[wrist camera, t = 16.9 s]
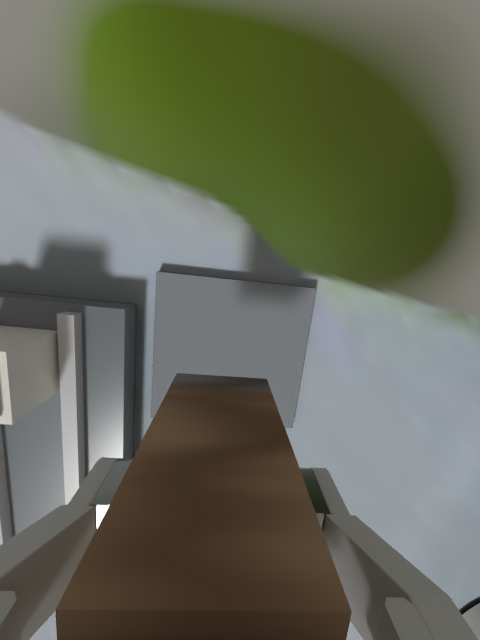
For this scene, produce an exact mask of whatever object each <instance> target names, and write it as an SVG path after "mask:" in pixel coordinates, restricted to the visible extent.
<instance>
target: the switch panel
mask: <svg viewBox="0 0 480 640" xmlns="http://www.w3.org/2000/svg"><path fill="white" fill-rule="evenodd" d="M0 325H2V326H13V327H23V328H34V329H45V330H56V331H57V332H58V354H59V376H60V390H59V391H58V392H57V393H55V394H54V395H53V396H51V397H50V398H48V399H47V400H46V401H44V402H43V403H42V404H40V405H39V406H38V407H36V408H35V409H33V410H32V411H31V412H29V413H28V414H27V415H25V416H24V417H23V418H21V419H20V420H18V421H17V422H16V423H14V424H13V425H8V424H0V545H2V544H3V543H5V542H6V541H8V540H9V539H11V538H12V537H14V536H15V535H17V534H18V533H20V532H21V531H23V530H24V529H26V528H27V527H29V526H30V525H32V524H33V523H35V522H36V521H38V520H39V519H41V518H42V517H44V516H45V515H47V514H48V513H50V512H52V511H53V510H55V509H56V508H58V507H59V506H61V505H68V503H69V502H70V500H71V499H72V497H73V496H74V495H75V493H76V492H77V490H78V489H79V487H80V486H81V484H82V483H83V481H84V480H85V478H86V477H87V475H88V474H89V472H90V471H91V469H92V468H93V466H94V465H95V463H96V462H97V461H98V460H99V459H100V458H101V457H108V458H126V459H133V430H134V385H135V339H136V305H135V304H125V303H115V302H105V301H95V300H85V299H74V298H64V297H54V296H44V295H34V294H24V293H14V292H4V291H0Z"/></svg>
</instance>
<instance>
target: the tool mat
mask: <svg viewBox="0 0 480 640" xmlns="http://www.w3.org/2000/svg"><path fill="white" fill-rule="evenodd" d="M315 292H316V289H315V288H309V287H300V286H291V285H281V284H272V283H263V282H253V281H244V280H234V279H225V278H216V277H206V276H197V275H188V274H178V273H169V272H159V271H158V272H156V297H155V323H154V350H153V376H152V403H151V417H152V418H154V417H155V415H156V413H157V411H158V409H159V407H160V405H161V403H162V401H163V399H164V397H165V395H166V393H167V391H168V389H169V387H170V385H171V383H172V381H173V379H174V378H175V376H176V374H177V373H184V374H200V375H216V376H231V377H247V378H263V379H267V381H268V383H269V386H270V389H271V392H272V394H273V397H274V400H275V403H276V405H277V408H278V411H279V414H280V416H281V419H282V422H283V425H284V427H285V428H293V422H294V416H295V410H296V404H297V398H298V393H299V387H300V381H301V375H302V369H303V363H304V357H305V351H306V345H307V340H308V334H309V328H310V322H311V316H312V310H313V304H314V298H315Z"/></svg>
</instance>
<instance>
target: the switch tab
mask: <svg viewBox="0 0 480 640" xmlns="http://www.w3.org/2000/svg"><path fill="white" fill-rule="evenodd" d="M59 390H60V376H59V354H58V332H57V331H56V330H45V329H34V328H23V327H13V326H2V325H0V424H8V425H13V424H14V423H16V422H17V421H18V420H20V419H21V418H23V417H24V416H25V415H27V414H28V413H29V412H31V411H32V410H33V409H35V408H36V407H38V406H39V405H40V404H42V403H43V402H44V401H46V400H47V399H48V398H50V397H51V396H53V395H54V394H55V393H57V392H58V391H59Z"/></svg>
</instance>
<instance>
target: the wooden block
mask: <svg viewBox="0 0 480 640" xmlns="http://www.w3.org/2000/svg"><path fill="white" fill-rule="evenodd" d="M351 613H352V611H351V608H350V606H349V603H348V600H347V597H346V595H345V592H344V589H343V586H342V584H341V581H340V578H339V575H338V573H337V570H336V567H335V565H334V562H333V559H332V556H331V554H330V551H329V548H328V545H327V543H326V540H325V537H324V534H323V532H322V529H321V526H320V523H319V521H318V518H317V515H316V512H315V510H314V507H313V504H312V501H311V499H310V496H309V493H308V490H307V488H306V485H305V482H304V479H303V477H302V474H301V471H300V468H299V466H298V463H297V460H296V458H295V455H294V452H293V449H292V447H291V444H290V441H289V438H288V436H287V433H286V430H285V427H284V425H283V422H282V419H281V416H280V414H279V411H278V408H277V405H276V403H275V400H274V397H273V394H272V392H271V389H270V386H269V383H268V381H267V379H263V378H247V377H231V376H216V375H200V374H184V373H177V374H176V376H175V378H174V379H173V381H172V383H171V385H170V387H169V389H168V391H167V393H166V395H165V397H164V399H163V401H162V403H161V405H160V407H159V409H158V411H157V413H156V415H155V417H154V418H153V420H152V422H151V424H150V426H149V428H148V430H147V432H146V434H145V436H144V438H143V440H142V442H141V444H140V446H139V448H138V450H137V452H136V454H135V456H134V458H133V459H132V461H131V463H130V465H129V467H128V469H127V471H126V473H125V475H124V477H123V479H122V481H121V483H120V485H119V487H118V489H117V491H116V493H115V495H114V497H113V499H112V500H111V502H110V504H109V506H108V508H107V510H106V512H105V514H104V516H103V518H102V520H101V522H100V524H99V526H98V528H97V530H96V532H95V534H94V536H93V538H92V539H91V541H90V543H89V545H88V547H87V549H86V551H85V553H84V555H83V557H82V559H81V561H80V563H79V565H78V567H77V569H76V571H75V573H74V575H73V577H72V579H71V580H70V582H69V584H68V586H67V588H66V590H65V592H64V594H63V596H62V598H61V600H60V602H59V604H58V606H57V608H56V626H57V640H346V637H347V632H348V627H349V622H350V618H351Z"/></svg>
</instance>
